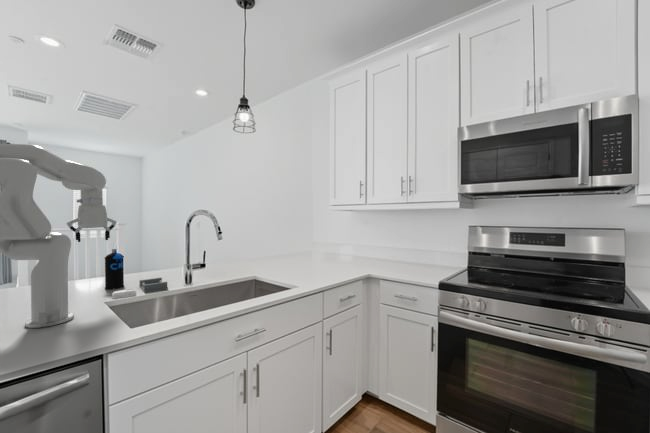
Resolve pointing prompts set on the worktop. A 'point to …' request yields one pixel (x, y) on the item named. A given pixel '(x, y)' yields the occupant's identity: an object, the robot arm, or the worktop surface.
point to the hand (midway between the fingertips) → (93, 240)
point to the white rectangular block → (123, 293)
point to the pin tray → (153, 285)
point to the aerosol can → (114, 271)
